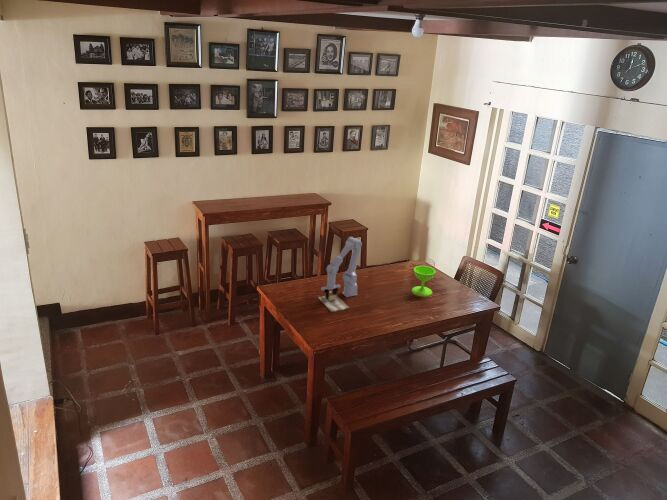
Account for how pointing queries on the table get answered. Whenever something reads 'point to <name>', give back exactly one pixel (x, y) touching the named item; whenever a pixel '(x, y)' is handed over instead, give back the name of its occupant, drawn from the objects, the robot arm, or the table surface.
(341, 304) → the birch board
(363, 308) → the table surface
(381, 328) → the table surface
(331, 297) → the block
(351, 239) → the robot arm
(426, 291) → the wineglass
